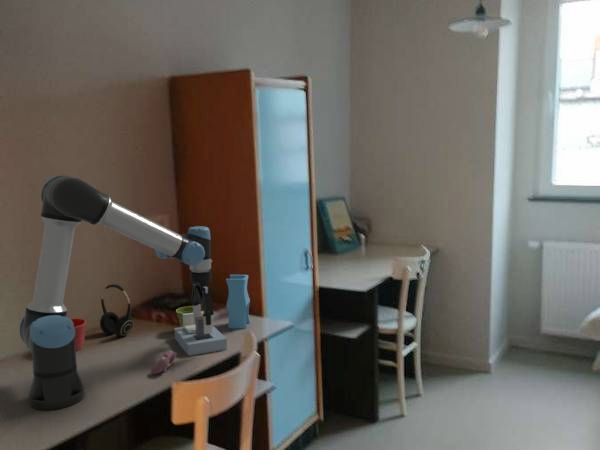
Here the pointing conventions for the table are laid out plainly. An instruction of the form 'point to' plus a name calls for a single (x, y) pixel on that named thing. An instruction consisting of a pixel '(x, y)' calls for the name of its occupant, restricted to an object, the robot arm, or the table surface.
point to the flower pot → (79, 332)
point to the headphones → (116, 318)
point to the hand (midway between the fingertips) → (202, 327)
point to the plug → (200, 329)
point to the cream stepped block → (189, 322)
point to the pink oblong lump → (164, 362)
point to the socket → (200, 342)
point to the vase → (238, 301)
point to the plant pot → (183, 311)
